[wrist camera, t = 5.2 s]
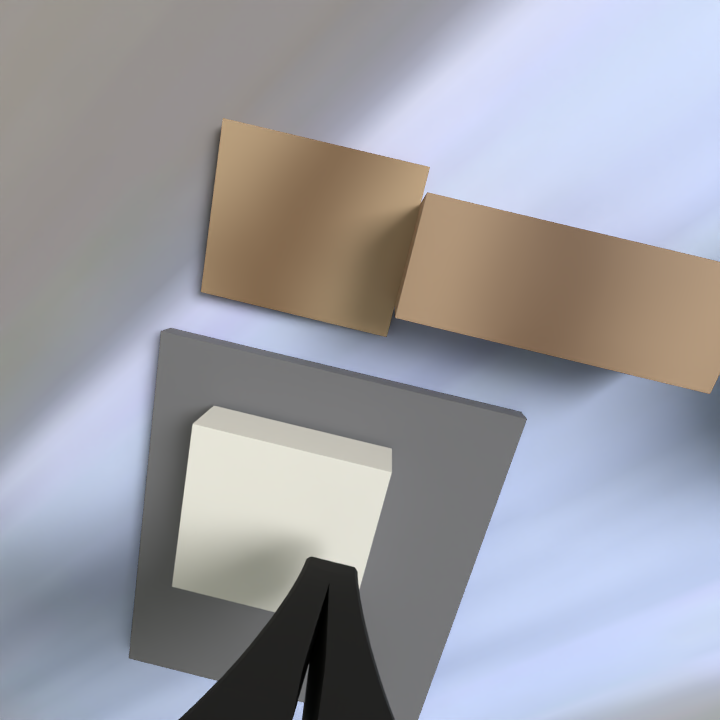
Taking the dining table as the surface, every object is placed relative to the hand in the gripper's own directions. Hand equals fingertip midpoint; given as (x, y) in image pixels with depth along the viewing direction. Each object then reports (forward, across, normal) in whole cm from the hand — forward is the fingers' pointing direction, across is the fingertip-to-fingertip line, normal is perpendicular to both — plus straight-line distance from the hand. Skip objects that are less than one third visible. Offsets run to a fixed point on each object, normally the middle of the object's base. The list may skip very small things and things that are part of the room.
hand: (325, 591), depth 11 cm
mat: (+4, +1, +2) cm, 5 cm away
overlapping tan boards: (+4, -1, -9) cm, 10 cm away
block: (+2, -1, 0) cm, 3 cm away
